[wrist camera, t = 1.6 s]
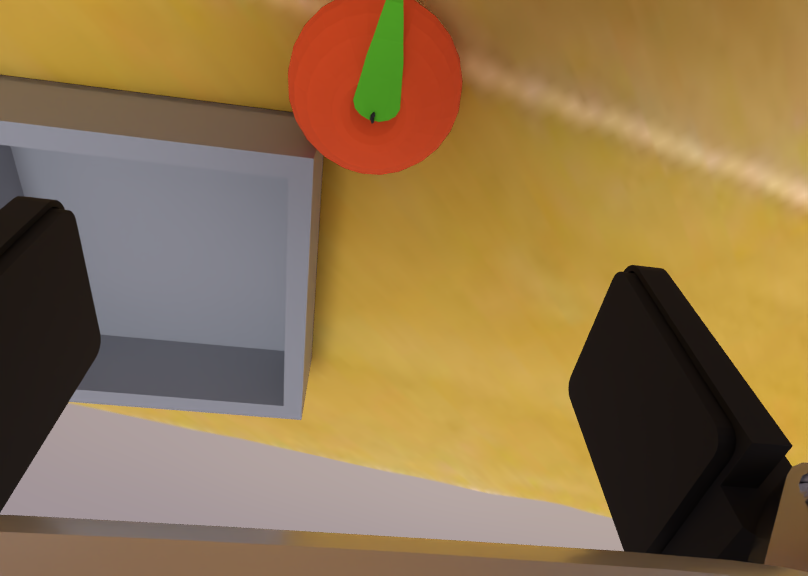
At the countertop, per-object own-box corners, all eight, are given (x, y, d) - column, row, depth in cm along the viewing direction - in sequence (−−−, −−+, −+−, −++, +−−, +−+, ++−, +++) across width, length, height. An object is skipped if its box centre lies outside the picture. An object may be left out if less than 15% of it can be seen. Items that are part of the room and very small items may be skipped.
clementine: (311, -72, 22) (284, -55, 17) (480, -31, 23) (508, -1, 18) (292, 123, 27) (265, 189, 21) (434, 150, 28) (444, 221, 22)
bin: (325, 116, 27) (313, 158, 23) (311, 358, 36) (301, 419, 32) (-25, 71, 25) (-104, 107, 21) (52, 335, 34) (6, 396, 30)
